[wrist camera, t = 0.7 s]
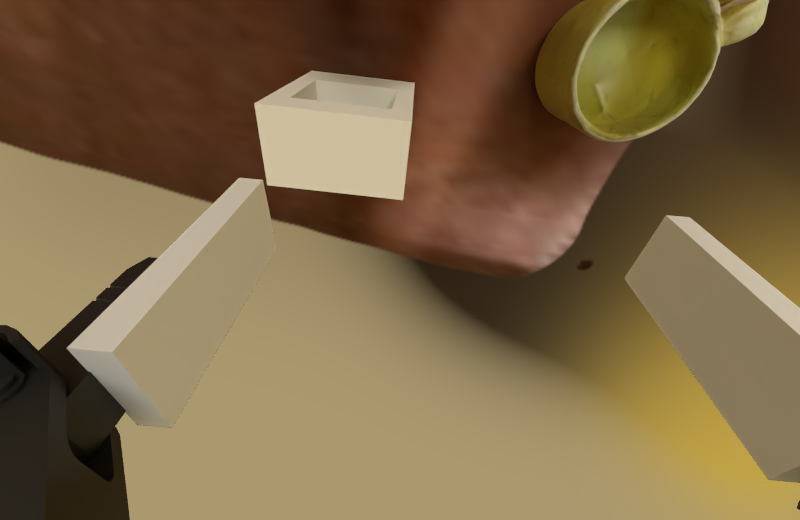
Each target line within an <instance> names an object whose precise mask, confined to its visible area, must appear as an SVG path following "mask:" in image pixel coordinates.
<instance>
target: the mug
mask: <svg viewBox="0 0 800 520" xmlns="http://www.w3.org/2000/svg"><path fill="white" fill-rule="evenodd" d="M768 2H769V0H727V1H723V2H720V3H719V1H718V0H585V1H583V2H581V3H579V4H577V5H576V6H574V7H573V8H571V9H570V10H569V11H568V12H567V13H565V14H564V15H563V16H562V17H561V18H560V19H559V21H558V22H557V23H556V24H555V25H554V27H553V28H552V29H551V31H550V32H549V34H548V35H547V37H546V39H545V41H544V43H543V45H542V47H541V49H540V52H539V55H538V58H537V62H536V66H535V85H536V90H537V93H538V96H539V98H540V100H541V102H542V104H543V106H544V107H545V109H546V110H547V111H549V112H550V113H551V114H552V115H554V116H555V117H557V118H558V119H560V120H563V121H565V122H567V123H568V124H569V125H571V126H572V127H573V128H575V129H577V130H579V131H580V132H582V133H583V134H585V135H586V136H588V137H591V138H593V139H595V140H599V141H604V142H624V141H629V140H633V139H637V138H641V137H643V136H645V135H648V134H650V133H652V132H654V131H656V130H658V129H660V128H661V127H663V126H665V125H666V124H668V123H669V122H671V121H673V120H674V119H675V118H677V117H678V116H679V115H681V114H682V113H683V112H684V111H685V110H686V109H687V108H688V107H689V106H690V104H691V103H692V102H693V101H694V100H695V99H696V98H697V97H698V96H699V94H700V93H701V92H702V90H703V88H704V87H705V85H706V84H707V82H708V80H709V79H710V77H711V74H712V72H713V70H714V68H715V64H716V60H717V57H718V54H719V52H720V47H722V46H726V45H729V44H732V43H735V42H738V41H741V40H743V39H745V38H747V37H749V36H750V35H752V34H754V33H756V32H757V30H758V29H759V28H760V27H761V26H762V24H763V22H764V19H765V15H766V11H767V6H768Z"/></svg>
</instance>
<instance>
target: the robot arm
mask: <svg viewBox="0 0 800 520" xmlns="http://www.w3.org/2000/svg"><path fill="white" fill-rule="evenodd" d="M276 248H277V247H276V242H275V237H274V232H273V227H272V222H271V217H270V212H269V208H268V203H267V198H266V193H265V188H264V183H263V180H258V179H247V178H239V179H238V180H237V181H236V182H235V183H234V184H232V185H231V186H230V187H229V188H228V189H227V190H226V191H225V192H224V193H223V194H222V195H221V196H220V197H219V198H218V199H217V200H216V201H215V202H214V203H213V204H212V205H211V206H210V207H209V208H208V209H207V210H206V211H205V212H204V213H203V214H202V215H201V216H200V217H199V218H198V219H197V220H196V221H195V222H194V223H193V224H192V225H191V226H190V227H189V228H188V229H187V230H186V231H185V232H184V233H183V234H182V235H181V236H180V237H179V238H178V239H177V240H176V241H175V242H174V243H173V244H172V245H171V246H170V247H169V248H168V249H167V250H166V251H165V252H164V253H163V254H162V255H160V256H159V258H151V257H148V258H147V259H145V260H143V261H141V262H140V263H138V264H136V265H134V266H132V267H130V268H129V269H127V270H126V271H125V272H124V273H122V274H121V275H120V276H119V277H118V278H117V279H116V280H115V281H114V282H113V283H112V284H111V286H110V288H106V289H105V290H104V291H103V292H102V293H101V294H100V295H99V296H97V300H96V301H92V302H91V303H90V304H89V305H88V306H87V307H86V308H85V309H83V310H82V311H81V312H80V313H79V314H78V315H77V316H76V317H75V318H74V319H72V321H70V322H69V323H68V324H67V325H66V326H65V327H64V328H63V329H62V330H61V331H59V332H58V333H57V334H56V335H55V336H54V337H53V338H52V339H51V340H50V341H49V342H48V343H46V344H45V345H44V346H43V347H42V348H41V349H40V350H39V351H38V350H37V349H36V348H35V347H34V346H33V345H32V344H31V343H30V342H29V341H28V340H27V339H26V338H25V337H24V336H22V334H20V332H19V331H17V330H16V329H14V328H11V327H9V326H7V325H0V520H130V518H129V509H128V500H127V493H126V483H125V475H124V466H123V457H122V449H121V440H120V435H119V433H118V430H117V428H116V427H115V425H116V424H117V423H118V421H119V420H120V419H121V417H122V416H123V414H124V413H125V412H126V413H127V414H128V415H129V417H130V418H131V419H132V420H133V421H134V422H135V423H136V424H137V425H143V426H154V427H165V428H172V427H173V426H174V424H175V422H176V420H177V419H178V417H179V415H180V414H181V412H182V410H183V409H184V407H185V405H186V403H187V402H188V400H189V398H190V397H191V395H192V393H193V391H194V390H195V388H196V386H197V385H198V383H199V381H200V379H201V378H202V376H203V374H204V372H205V371H206V369H207V367H208V366H209V364H210V362H211V360H212V359H213V357H214V355H215V354H216V352H217V350H218V348H219V346H220V345H221V343H222V341H223V340H224V338H225V336H226V335H227V333H228V331H229V329H230V328H231V326H232V324H233V323H234V321H235V319H236V317H237V316H238V314H239V312H240V310H241V309H242V307H243V305H244V304H245V302H246V300H247V298H248V297H249V295H250V293H251V292H252V290H253V288H254V286H255V284H256V283H257V281H258V279H259V278H260V276H261V274H262V273H263V271H264V269H265V267H266V266H267V264H268V262H269V260H270V259H271V257H272V255H273V254H274V252H275V250H276ZM624 279H625V280H626V282H627V283H628V285H629V286H630V287H631V289H632V290H633V291H634V293H635V294H636V296H637V297H638V298H639V300H640V301H641V303H642V304H643V305H644V307H645V308H646V310H647V311H648V312H649V314H650V315H651V317H652V318H653V319H654V321H655V322H656V324H657V325H658V326H659V328H660V329H661V331H662V332H663V333H664V335H665V336H666V337H667V339H668V340H669V342H670V343H671V345H672V346H673V347H674V349H675V350H676V351H677V353H678V354H679V356H680V357H681V359H682V360H683V361H684V363H685V364H686V365H687V367H688V368H689V370H690V371H691V372H692V374H693V375H694V377H695V378H696V379H697V381H698V382H699V383H700V385H701V386H702V388H703V389H704V391H705V392H706V393H707V395H708V396H709V397H710V399H711V400H712V402H713V403H714V405H715V406H716V407H717V409H718V410H719V411H720V413H721V414H722V416H723V417H724V419H725V420H726V421H727V423H728V424H729V426H730V427H731V428H732V430H733V431H734V433H735V434H736V435H737V437H738V438H739V439H740V441H741V442H742V444H743V445H744V446H745V448H746V449H747V451H748V452H749V454H750V455H751V456H752V458H753V459H754V460H755V462H756V463H757V465H758V466H759V467H760V469H761V470H762V471H763V473H764V474H765V476H766V477H767V479H768V480H775V481H786V482H798V483H800V308H799V307H798V306H796V305H795V304H794V303H793V302H791V301H790V300H789V299H788V298H787V297H785V296H784V295H783V294H782V293H781V292H779V291H778V290H777V289H776V288H775V287H773V286H772V285H771V284H770V283H768V282H767V281H766V280H765V279H764V278H762V277H761V276H760V275H759V274H758V273H756V272H755V271H754V270H753V269H751V268H750V267H749V266H748V265H747V264H745V263H744V262H743V261H742V260H741V259H739V258H738V257H737V256H736V255H734V254H733V253H732V252H731V251H730V250H728V249H727V248H726V247H725V246H723V245H722V244H721V243H720V242H719V241H717V240H716V239H715V238H714V237H713V236H712V235H710V234H709V233H708V232H706V230H704V229H703V228H702V227H700V226H699V225H698V224H697V223H696V222H694V221H693V220H692V219H691V218H689V217H680V216H667V215H666V216H665V218H664V219H663V221H662V222H661V224H660V225H659V227H658V228H657V230H656V232H655V233H654V234H653V236H652V237H651V239H650V240H649V242H648V243H647V245H646V246H645V248H644V249H643V251H642V252H641V254H640V255H639V257H638V258H637V260H636V261H635V263H634V264H633V266H632V268H631V269H630V270H629V272H628V273H627V275H626V276H625V278H624ZM797 508H798V509H799V510H800V501H799V503H798V506H797Z"/></svg>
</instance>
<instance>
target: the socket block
mask: <svg viewBox="0 0 800 520" xmlns="http://www.w3.org/2000/svg"><path fill="white" fill-rule="evenodd" d="M414 87H415V83H413V82H404V81H396V80H387V79H379V78H370V77H362V76H353V75H345V74H336V73H328V72H319V71H310V72H309V73H307V74H305V75H303V76H302V77H300V78H298V79H296V80H295V81H293V82H291V83H289V84H287V85H286V86H284V87H282V88H280V89H279V90H277V91H275V92H273V93H272V94H270V95H268V96H266V97H265V98H263V99H261V100H259V101H258V102H256V103H254V105H255V111H256V118H257V124H258V130H259V136H260V143H261V149H262V155H263V161H264V168H265V174H266V180H267V185H270V186H279V187H288V188H297V189H307V190H316V191H325V192H334V193H343V194H352V195H361V196H370V197H379V198H388V199H397V200H403V196H404V188H405V179H406V170H407V161H408V152H409V144H410V135H411V126H412V115H413V101H414Z"/></svg>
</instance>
